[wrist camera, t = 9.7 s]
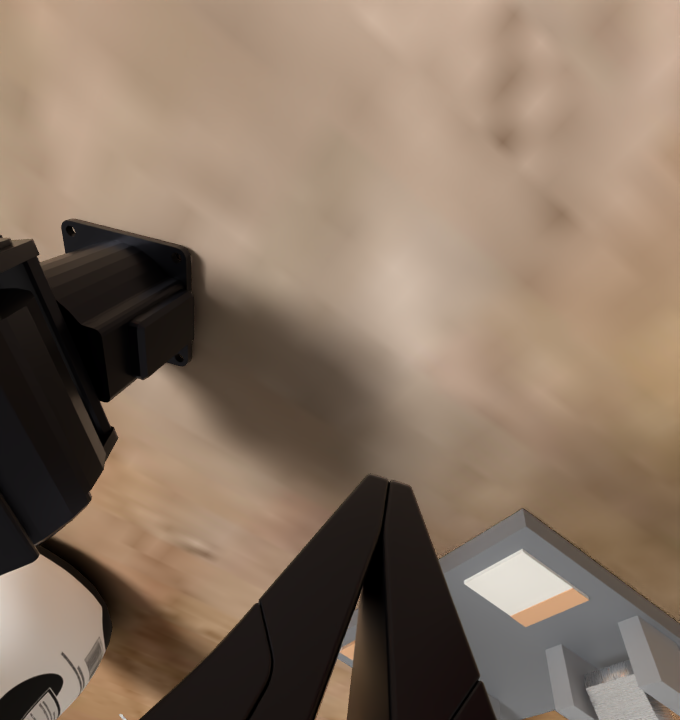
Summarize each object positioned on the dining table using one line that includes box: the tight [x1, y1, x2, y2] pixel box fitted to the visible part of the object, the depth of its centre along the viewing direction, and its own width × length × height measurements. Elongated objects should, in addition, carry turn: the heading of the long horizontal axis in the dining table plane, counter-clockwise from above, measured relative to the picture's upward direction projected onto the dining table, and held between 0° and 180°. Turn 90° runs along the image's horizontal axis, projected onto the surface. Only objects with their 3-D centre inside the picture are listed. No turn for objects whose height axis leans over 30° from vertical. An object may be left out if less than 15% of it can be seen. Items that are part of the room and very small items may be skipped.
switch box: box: [338, 509, 680, 720], centre depth 27 cm, size 14×20×4 cm
